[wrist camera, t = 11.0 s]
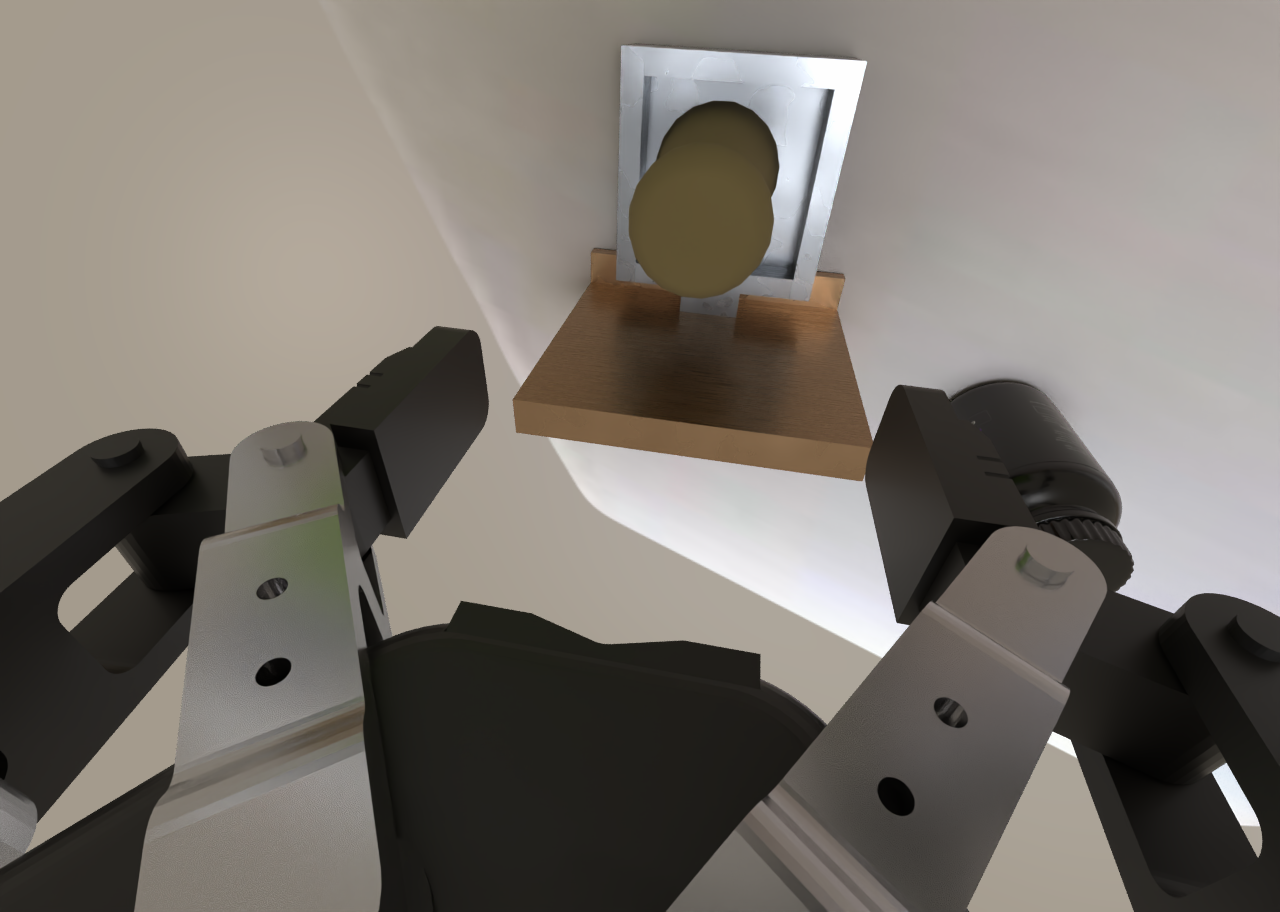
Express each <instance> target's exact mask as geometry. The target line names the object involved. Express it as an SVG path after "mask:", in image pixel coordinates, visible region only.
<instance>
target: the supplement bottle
mask: <svg viewBox="0 0 1280 912" xmlns="http://www.w3.org/2000/svg"><path fill="white" fill-rule="evenodd" d="M950 404H951V406H952V408H953V410H954V412H955V414H956V416H957V418H958V419H960V420H967V421H970V422H971V423H972V424H973V425H974V426H975V427H977V428H978V429H979V430H980V431H981V432H982V433H984V434H985V435H986V436H987V437H988V438H989V439H990V440H991V442H992V443H993V445H994V447H995V449H996V451H997V453H998V454H999V456H1000V458H1001V460H1000V462H1001V463H1003V464H1004V465H1005V467H1006V469H1007V471H1008V473H1009V475H1010V476H1009V479H1012V480H1013V482H1014V484H1015V486H1016V487H1017V489H1018V491H1019V493H1020V495H1021V497H1022V498H1023V500H1024V502H1025V504H1026V506H1027V508H1028V509H1029V511H1030V513H1031V515H1032V517H1033V519H1034V520H1035V522H1036V524H1037V526H1038V528H1039V530H1040V531H1044V532H1046V533H1049V534H1052V535H1054V536H1056V537H1058V538H1061V539H1063V540H1064V541H1066V542H1068V543H1070V544H1071V545H1073V546H1074V547H1076V548H1077V549H1079V550H1080V551H1081V552H1083V553H1084V554H1085V555H1086V556H1088V557H1089V558H1090V559H1091V560H1092V561H1093V562H1094V563H1095V565H1096V566H1097V567H1098V568H1099V570H1100V571H1101V573H1102V574H1103V576H1104V578H1105V581H1106V584H1107V589H1109V590H1111V591H1113V592H1116V591H1118V590H1119V589H1120V587H1122V586H1123V585H1125V584H1126V581H1127V580H1128V579H1130V578H1131V573H1132V572H1133V571H1134V569H1133V565H1134V561H1133V559H1132V555H1131V553H1130V551H1129V550H1128V548H1127V547H1126V545H1125V544H1124V543H1123V540H1122V536H1121V534H1120V532H1119V531H1118V530H1117V527H1118V525H1119V522H1120V519H1121V514H1122V502H1121V498H1120V495H1119V492H1118V491H1117V489H1116V487H1115V486H1114V484H1113V482H1112V481H1111V480H1110V478H1109V477H1108V476H1107V474H1106V473H1105V471H1104V470H1103V469H1102V467H1101V466H1100V465H1099V463H1098V462H1097V461H1096V459H1095V458H1094V457H1093V455H1092V454H1091V453H1090V451H1089V450H1088V449H1087V447H1086V446H1085V445H1084V443H1083V442H1082V441H1081V439H1080V438H1079V437H1078V435H1077V434H1076V433H1075V431H1074V430H1073V429H1072V427H1071V426H1070V424H1069V423H1068V422H1067V420H1066V419H1065V418H1064V416H1063V415H1062V414H1061V412H1060V411H1059V410H1058V409H1057V407H1056V406H1055V405H1054V404H1053V402H1052V401H1051V400H1050V399H1049V398H1048V397H1047V396H1046V395H1045V394H1044V393H1042V392H1041V391H1039V390H1037V389H1035V388H1033V387H1031V386H1028V385H1024V384H1020V383H1011V382H1001V383H992V384H987V385H983V386H979V387H977V388H974V389H972V390H969V391H967V392H965V393H963V394H962V395H960V396H958V397H957V398H955V399H954V400H953V401H951V402H950Z"/></svg>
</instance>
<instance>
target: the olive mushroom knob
mask: <svg viewBox="0 0 1280 912" xmlns="http://www.w3.org/2000/svg"><path fill="white" fill-rule="evenodd" d="M779 167H780V166H779V158H778V150H777V144H776V142H775V140H774V138H773V136H772V133H771V131H770V129H769V127H768V125H767V124H766V123H765V122H764V121H763V120H762V119H761V118H760V117H759V116H758V115H757V114H756V113H755V112H754V111H753V110H751V109H749V108H747V107H745V106H743V105H740V104H738V103H736V102H732V101H715V100H713V101H710V102H707V103H703V104H700V105H697V106H694V107H692V108H691V109H689V110H688V111H687V112H685V113H684V114H683V115H681V116H680V117H679V118H677V119H676V120H675V122H674V123H673V124H672V126H671V127H670V129H669V130H668V131H667V133H666V134H665V136H664V137H663V140H662V143H661V146H660V149H659V151H658V154H657V157H656V161H655V162H654V163H653V164H652V165H651V166H650V168H649V169H648V170H647V172H646V173H645V174H644V176H643V177H642V179H641V180H640V181H639V183H638V184H637V186H636V189H635V192H634V195H633V198H632V201H631V204H630V207H629V231H628V232H629V237H630V240H631V244H632V248H633V251H634V255H635V258H636V259H637V261H638V262H639V264H640V265H641V267H642V269H643V270H644V272H645V273H646V275H647V276H648V277H649V278H651V279H652V280H653V281H654V282H655V283H656V284H658V285H659V286H660V287H661V288H662V289H664V290H667V291H669V292H672V293H674V294H676V295H679V296H681V297H689V298H699V299H703V298H708V297H713V296H718V295H723V294H724V293H726V292H728V291H730V290H732V289H733V288H735V287H737V286H739V285H741V284H742V283H743V282H744V281H745V280H746V279H747V278H748V277H749V276H750V275H751V274H752V272H753V271H754V270H755V269H756V268H757V267H758V266H759V265H760V263H761V261H762V259H763V257H764V255H765V253H766V251H767V249H768V248H769V246H770V242H771V237H772V231H773V225H774V214H773V207H772V200H771V197H772V195H773V193H774V191H775V189H776V185H777V179H778V173H779Z"/></svg>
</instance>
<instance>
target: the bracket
mask: <svg viewBox="0 0 1280 912" xmlns="http://www.w3.org/2000/svg"><path fill="white" fill-rule="evenodd" d="M866 64H867V61H864V60H861V59H858V58H852V57H836V56H821V55H805V54H790V53H774V52H759V51H743V50H728V49H712V48H697V47H682V46H666V45H651V44H628V45H621V79H620V124H619V169H618V214H617V251H616V250H606V249H597V248H594V249H593V251H592V252H591V283H590V285H589V286H588V288H587V289H586V291H585V292H584V294H583V295H582V297H581V298H580V300H579V301H578V303H577V304H576V306H575V307H574V309H573V310H572V312H571V313H570V315H569V316H568V318H567V319H566V321H565V322H564V324H563V325H562V327H561V328H560V330H559V331H558V333H557V334H556V336H555V337H554V339H553V340H552V342H551V343H550V345H549V346H548V348H547V349H546V351H545V352H544V354H543V355H542V357H541V358H540V360H539V361H538V363H537V364H536V365H535V367H534V368H533V370H532V371H531V373H530V374H529V376H528V377H527V379H526V380H525V382H524V383H523V385H522V386H521V388H520V389H519V391H518V392H517V394H516V396H515V397H514V398H513V406H514V416H515V425H516V432H517V433H525V434H531V435H539V436H546V437H552V438H559V439H566V440H573V441H581V442H588V443H595V444H602V445H609V446H616V447H623V448H630V449H637V450H644V451H651V452H658V453H665V454H672V455H679V456H687V457H694V458H701V459H708V460H715V461H722V462H729V463H736V464H743V465H750V466H757V467H764V468H771V469H778V470H785V471H793V472H800V473H807V474H814V475H821V476H828V477H835V478H842V479H849V480H856V481H863V478H864V475H865V472H866V464H867V459H868V455H869V452H870V449H871V446H872V444H873V440H872V437H871V433H870V429H869V426H868V422H867V418H866V415H865V411H864V407H863V404H862V400H861V396H860V393H859V389H858V385H857V381H856V378H855V374H854V370H853V367H852V363H851V359H850V356H849V352H848V348H847V345H846V341H845V337H844V334H843V330H842V326H841V323H840V319H839V315H838V311H837V307H838V304H839V300H840V296H841V293H842V289H843V286H844V282H845V277H844V274H837V273H827V272H817V266H818V262H819V258H820V254H821V250H822V246H823V242H824V238H825V233H826V229H827V225H828V221H829V217H830V213H831V209H832V204H833V200H834V196H835V192H836V188H837V184H838V180H839V175H840V171H841V167H842V163H843V159H844V155H845V151H846V146H847V142H848V138H849V134H850V130H851V126H852V122H853V117H854V113H855V109H856V105H857V101H858V97H859V93H860V89H861V84H862V80H863V76H864V72H865V68H866ZM713 100H715V101H732V102H736V103H738V104H740V105H743V106H745V107H747V108H749V109H751V110H753V111H754V112H755V113H756V114H757V115H758V116H759V117H760V118H761V119H762V120H763V121H764V122H765V123H766V124H767V125H768V127H769V129H770V131H771V133H772V136H773V138H774V140H775V142H776V144H777V150H778V158H779V166H780V167H779V173H778V179H777V185H776V189H775V191H774V193H773V195H772V197H771V200H772V207H773V214H774V225H773V231H772V237H771V242H770V246H769V248H768V249H767V251H766V253H765V255H764V257H763V259H762V261H761V263H760V265H759V266H758V267H757V268H756V269H755V270H754V271H753V272H752V274H751V275H750V276H749V277H748V278H747V279H746V280H745V281H744V282H743V283H742V284H741V285H739V286H737V287H735V288H733V289H732V290H730V291H728V292H726V293H724V294H723V295H718V296H713V297H708V298H703V299H699V298H689V297H681V296H679V295H676V294H674V293H672V292H669V291H667V290H664V289H662V288H661V287H660V286H659V285H658V284H656V283H655V282H654V281H653V280H652V279H651V278H649V277H648V276H647V275H646V273H645V272H644V270H643V269H642V267H641V265H640V264H639V262H638V261H637V259H636V258H635V255H634V251H633V248H632V244H631V240H630V237H629V232H628V231H629V207H630V204H631V201H632V198H633V195H634V192H635V189H636V186H637V184H638V183H639V181H640V180H641V179H642V177H643V176H644V174H645V173H646V172H647V170H648V169H649V168H650V166H651V165H652V164H653V163H654V162H655V161H656V157H657V154H658V151H659V149H660V146H661V143H662V140H663V137H664V136H665V134H666V133H667V131H668V130H669V129H670V127H671V126H672V124H673V123H674V122H675V120H676V119H677V118H679V117H680V116H681V115H683V114H684V113H685V112H687V111H688V110H689V109H691V108H692V107H694V106H697V105H700V104H703V103H707V102H710V101H713Z"/></svg>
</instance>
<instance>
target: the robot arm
mask: <svg viewBox="0 0 1280 912" xmlns="http://www.w3.org/2000/svg"><path fill="white" fill-rule="evenodd" d="M488 405H489V400H488V392H487V384H486V377H485V370H484V364H483V356H482V349H481V343H480V339H479V336H478V334H477V333H476V332H475V331H473V330H464V329H457V328H448V327H441V326H436V327H434V328H433V329H432V330H431V331H429V332H428V333H427V334H426V335H425V336H424V337H423V338H422V339H421V340H420V341H419V342H418V343H417V344H415V345H414V346H413V347H408V348H406V349H404V350H402V351H400V352H397V353H395V354H393V355H391V356H389V357H387V358H385V359H384V360H383V361H382V362H381V363H380V364H378V365H377V366H376V367H375V368H374V369H373V370H372V371H371V372H370V375H366V376H365V377H364V378H363V379H361V380H360V381H359V382H358V383H357V387H352V388H351V389H350V390H349V391H348V392H347V393H346V394H344V395H343V396H342V397H341V398H340V399H339V400H338V401H337V402H335V403H334V404H333V405H332V406H331V407H330V408H329V409H328V410H326V411H325V412H324V413H323V414H322V415H321V416H320V417H319V418H318V419H316V420H315V421H314V422H307V421H296V422H287V423H281V424H277V425H273V426H270V427H267V428H264V429H262V430H259V431H257V432H255V433H253V434H251V435H250V436H248V437H247V438H245V439H244V440H242V441H241V442H240V443H239V444H238V445H237V446H236V447H235V448H234V450H233V451H232V453H231V454H225V455H224V454H223V455H208V456H192V457H187V455H186V453H185V451H184V449H183V448H182V446H181V444H180V442H179V441H178V439H177V437H176V436H175V435H174V434H172V433H171V432H168V431H166V430H161V429H137V430H130V431H125V432H121V433H117V434H113V435H110V436H107V437H104V438H102V439H99V440H96V441H94V442H92V443H90V444H88V445H86V446H84V447H82V448H81V449H79V450H77V451H76V452H74V453H73V454H71V455H70V456H68V457H67V458H65V459H64V460H62V461H61V462H59V463H58V464H56V465H55V466H53V467H52V468H50V469H49V470H47V471H46V472H44V473H43V474H41V475H40V476H38V477H37V478H36V479H34V480H33V481H31V482H29V483H28V484H26V485H25V486H23V487H22V488H20V489H19V490H18V491H16V492H14V493H13V494H12V495H10V496H9V497H7V498H6V499H4V500H3V501H1V502H0V912H969V911H968V909H967V906H968V904H969V902H970V900H971V898H972V896H973V894H974V892H975V890H976V888H977V886H978V883H979V882H980V880H981V878H982V876H983V873H984V871H985V869H986V867H987V865H988V863H989V861H990V859H991V857H992V855H993V853H994V851H995V849H996V847H997V845H998V842H999V840H1000V838H1001V836H1002V834H1003V832H1004V830H1005V828H1006V826H1007V824H1008V822H1009V820H1010V817H1011V816H1012V814H1013V812H1014V809H1015V807H1016V805H1017V803H1018V801H1019V799H1020V797H1021V795H1022V793H1023V791H1024V789H1025V787H1026V785H1027V783H1028V781H1029V779H1030V776H1031V774H1032V772H1033V770H1034V768H1035V766H1036V764H1037V762H1038V760H1039V758H1040V756H1041V754H1042V752H1043V750H1044V748H1045V745H1046V743H1047V741H1048V739H1049V737H1050V735H1051V733H1052V731H1053V732H1055V733H1057V734H1060V735H1062V736H1064V737H1066V738H1068V739H1071V742H1072V745H1073V747H1074V750H1075V753H1076V756H1077V758H1078V761H1079V763H1080V766H1081V769H1082V772H1083V775H1084V777H1085V780H1086V783H1087V785H1088V788H1089V791H1090V793H1091V796H1092V799H1093V802H1094V804H1095V807H1096V810H1097V812H1098V815H1099V818H1100V821H1101V823H1102V826H1103V829H1104V832H1105V834H1106V837H1107V840H1108V842H1109V845H1110V848H1111V851H1112V853H1113V856H1114V859H1115V861H1116V864H1117V867H1118V869H1119V872H1120V875H1121V878H1122V880H1123V883H1124V886H1125V889H1126V891H1127V894H1128V897H1129V899H1130V902H1131V905H1132V908H1133V910H1134V912H1280V617H1278V616H1277V615H1275V614H1273V613H1271V612H1269V611H1267V610H1265V609H1263V608H1261V607H1259V606H1257V605H1254V604H1252V603H1249V602H1247V601H1244V600H1241V599H1238V598H1235V597H1231V596H1227V595H1222V594H1214V593H1204V594H1198V595H1195V596H1193V597H1191V598H1190V599H1189V600H1188V601H1187V602H1186V603H1185V604H1183V605H1182V606H1181V607H1180V608H1179V609H1178V610H1177V611H1176V612H1175V613H1174V614H1173V613H1171V612H1168V611H1165V610H1163V609H1160V608H1157V607H1154V606H1152V605H1149V604H1146V603H1143V602H1141V601H1138V600H1135V599H1132V598H1130V597H1127V596H1124V595H1121V594H1119V593H1116V592H1113V591H1111V590H1109V589H1107V584H1106V581H1105V578H1104V576H1103V574H1102V573H1101V571H1100V570H1099V568H1098V567H1097V566H1096V565H1095V563H1094V562H1093V561H1092V560H1091V559H1090V558H1089V557H1088V556H1086V555H1085V554H1084V553H1083V552H1081V551H1080V550H1079V549H1077V548H1076V547H1074V546H1073V545H1071V544H1070V543H1068V542H1066V541H1064V540H1063V539H1061V538H1058V537H1056V536H1054V535H1052V534H1049V533H1046V532H1044V531H1040V530H1039V528H1038V526H1037V524H1036V522H1035V520H1034V519H1033V517H1032V515H1031V513H1030V511H1029V509H1028V508H1027V506H1026V504H1025V502H1024V500H1023V498H1022V497H1021V495H1020V493H1019V491H1018V489H1017V487H1016V486H1015V484H1014V482H1013V480H1012V479H1009V476H1010V475H1009V473H1008V471H1007V469H1006V467H1005V465H1004V464H1003V463H1001V462H1000V460H1001V458H1000V456H999V454H998V453H997V451H996V449H995V447H994V445H993V443H992V442H991V440H990V439H989V438H988V437H987V436H986V435H985V434H984V433H982V432H981V431H980V430H979V429H978V428H977V427H975V426H974V425H973V424H972V423H971V422H970V421H967V420H960V419H958V418H957V416H956V414H955V412H954V410H953V408H952V406H951V404H950V402H949V399H948V397H947V395H946V394H945V392H944V391H943V390H938V389H930V388H922V387H914V386H906V385H898V386H897V387H896V388H895V389H894V390H893V392H892V394H891V396H890V399H889V401H888V404H887V407H886V409H885V412H884V415H883V417H882V420H881V423H880V425H879V428H878V430H877V433H876V436H875V438H874V441H873V444H872V446H871V449H870V452H869V455H868V459H867V464H866V472H865V482H866V488H867V492H868V497H869V501H870V506H871V510H872V515H873V519H874V524H875V528H876V533H877V537H878V542H879V546H880V550H881V555H882V559H883V564H884V568H885V573H886V577H887V582H888V586H889V591H890V595H891V600H892V604H893V609H894V613H895V618H896V622H897V623H900V624H906V625H910V626H909V627H908V628H907V629H906V630H905V632H904V633H903V634H902V635H901V636H900V638H899V639H898V640H897V641H896V643H895V644H894V645H893V646H892V647H891V649H890V650H889V651H888V652H887V653H886V655H885V656H884V657H883V658H882V659H881V661H880V662H879V663H878V664H877V666H876V667H875V668H874V669H873V670H872V672H871V673H870V674H869V675H868V676H867V678H866V679H865V680H864V681H863V682H862V684H861V685H860V686H859V687H858V689H857V690H856V691H855V692H854V693H853V695H852V696H851V697H850V698H849V699H848V701H847V702H846V703H845V704H844V705H843V707H842V708H841V709H840V710H839V711H838V713H837V714H836V715H835V716H834V718H833V719H832V720H831V721H830V722H829V724H828V725H826V723H824V721H823V720H821V719H820V718H819V717H818V716H817V715H816V714H815V713H814V712H812V711H811V710H810V709H809V708H808V707H807V706H805V705H804V704H802V703H801V702H800V701H798V700H797V699H796V698H794V697H793V696H791V695H790V694H788V693H786V692H785V691H783V690H781V689H779V688H778V687H776V686H774V685H772V684H770V683H768V682H766V681H764V680H761V679H760V654H756V653H750V652H745V651H739V650H734V649H728V648H722V647H716V646H711V645H706V644H700V643H695V642H689V641H666V642H646V643H627V644H601V643H597V642H594V641H592V640H590V639H588V638H585V637H583V636H581V635H579V634H576V633H574V632H572V631H570V630H567V629H565V628H563V627H561V626H559V625H556V624H554V623H552V622H550V621H547V620H545V619H543V618H541V617H538V616H536V615H534V614H532V613H526V612H520V611H514V610H509V609H503V608H498V607H493V606H487V605H481V604H476V603H470V602H464V601H461V603H460V604H459V606H458V608H457V610H456V612H455V614H454V616H453V618H452V620H451V622H450V623H448V624H438V625H432V626H426V627H422V628H418V629H414V630H410V631H406V632H404V633H401V634H398V635H395V636H392V632H391V628H390V623H389V618H388V613H387V608H386V604H385V598H384V593H383V588H382V583H381V579H380V573H379V569H378V563H377V558H376V555H375V552H374V549H373V546H372V544H373V543H374V541H375V540H376V539H377V537H378V536H379V535H380V534H382V535H388V536H394V537H400V538H406V539H407V537H408V536H409V534H410V533H411V531H412V530H413V529H414V527H415V526H416V524H417V523H418V521H419V520H420V518H421V517H422V515H423V514H424V512H425V511H426V510H427V508H428V507H429V505H430V504H431V503H432V501H433V500H434V498H435V496H436V495H437V494H438V492H439V491H440V489H441V488H442V487H443V485H444V484H445V482H446V481H447V479H448V478H449V476H450V475H451V473H452V472H453V471H454V469H455V468H456V466H457V465H458V463H459V462H460V461H461V459H462V457H463V456H464V455H465V453H466V452H467V450H468V449H469V448H470V446H471V444H472V443H473V442H474V440H475V439H476V437H477V436H478V434H479V433H480V431H481V430H482V428H483V427H484V425H485V422H486V419H487V415H488V407H489V406H488ZM114 546H115V547H116V548H117V549H118V550H119V552H120V553H121V555H122V556H123V557H124V558H125V560H126V561H127V562H128V563H129V565H130V566H131V568H132V569H133V570H134V572H133V573H132V574H131V575H130V576H129V577H128V578H126V580H124V581H123V582H122V583H121V584H120V585H119V586H118V587H117V588H116V589H115V590H114V591H113V592H112V593H110V595H108V596H107V597H106V598H105V599H104V600H103V601H102V602H101V603H100V604H99V605H98V606H97V607H96V608H95V609H93V610H92V611H91V612H90V613H89V614H88V615H87V616H86V617H85V618H84V619H83V620H82V621H81V622H80V623H79V624H78V625H77V626H76V627H74V628H73V629H72V630H71V631H70V632H68V631H67V630H66V629H65V628H64V627H63V625H62V624H61V623H60V621H59V619H58V614H57V612H58V604H59V601H60V599H61V597H62V595H63V593H64V592H65V591H66V589H67V588H68V587H69V586H70V585H71V584H72V583H73V582H74V581H75V580H77V579H78V578H79V577H80V576H81V575H82V574H83V573H85V572H86V571H87V570H88V569H89V568H90V567H91V566H93V565H94V564H95V563H96V562H97V561H98V560H99V559H101V558H102V557H103V556H104V555H105V554H106V553H108V552H109V551H110V550H111V549H112V548H113V547H114ZM187 646H188V654H187V662H186V671H185V679H184V688H183V697H182V706H181V714H180V723H179V732H178V742H177V749H176V758H175V764H173V765H171V766H170V767H168V768H167V769H165V770H163V771H162V772H160V773H159V774H157V775H155V776H153V777H152V778H150V779H148V780H147V781H145V782H143V783H142V784H140V785H138V786H137V787H135V788H133V789H132V790H130V791H128V792H127V793H125V794H123V795H122V796H120V797H119V798H117V799H115V800H113V801H112V802H110V803H108V804H107V805H105V806H103V807H102V808H100V809H98V810H97V811H95V812H93V813H92V814H90V815H88V816H87V817H85V818H84V819H82V820H80V821H78V822H77V823H75V824H73V825H72V826H70V827H68V828H67V829H65V830H64V831H62V832H60V833H59V834H57V835H55V836H53V837H52V838H50V839H49V840H47V841H45V842H44V843H42V844H40V845H39V846H37V847H35V848H34V849H32V850H30V851H29V852H27V853H25V851H26V849H27V848H28V846H29V844H30V842H31V840H32V837H33V835H34V832H35V829H36V824H37V823H38V822H39V820H40V819H41V818H42V817H43V816H44V815H45V813H46V812H47V811H48V810H49V809H50V807H51V806H52V805H53V804H54V803H55V802H56V800H57V799H58V798H59V797H60V796H61V794H62V793H63V792H64V791H65V790H66V789H67V787H68V786H69V785H70V784H71V783H72V782H73V780H74V779H75V778H76V777H77V776H78V775H79V773H80V772H81V771H82V770H83V769H84V767H85V766H86V765H87V764H88V763H89V762H90V760H91V759H92V758H93V757H94V756H95V754H96V753H97V752H98V751H99V750H100V749H101V747H102V746H103V745H104V744H105V743H106V741H107V740H108V739H109V738H110V737H111V736H112V734H113V733H114V732H115V731H116V730H117V729H118V727H119V726H120V725H121V724H122V723H123V722H124V720H125V719H126V718H127V717H128V715H129V714H130V713H131V712H132V711H133V710H134V709H135V707H136V706H137V705H138V704H139V703H140V701H141V700H142V699H143V698H144V697H145V696H146V694H147V693H148V692H149V691H150V690H151V689H152V687H153V686H154V685H155V684H156V683H157V681H158V680H159V679H160V678H161V677H162V676H163V674H164V673H165V672H166V671H167V670H168V669H169V667H170V666H171V665H172V664H173V663H174V661H175V660H176V659H177V658H178V657H179V656H180V654H181V653H182V652H183V651H184V650H185V648H186V647H187ZM1225 763H1227V764H1228V766H1229V768H1230V770H1231V771H1232V773H1233V775H1234V777H1235V778H1236V780H1237V782H1238V784H1239V785H1240V787H1241V789H1242V791H1243V792H1244V794H1245V796H1246V798H1247V799H1248V801H1249V803H1250V805H1251V807H1252V808H1253V810H1254V812H1255V814H1256V816H1257V818H1258V821H1259V824H1260V827H1261V831H1262V840H1263V841H1262V849H1261V854H1260V856H1259V858H1258V857H1257V856H1256V854H1255V852H1254V850H1253V848H1252V846H1251V845H1250V843H1249V841H1248V839H1247V837H1246V835H1245V833H1244V831H1243V830H1242V828H1241V826H1240V824H1239V822H1238V820H1237V819H1236V817H1235V815H1234V813H1233V811H1232V809H1231V807H1230V806H1229V804H1228V802H1227V800H1226V798H1225V796H1224V794H1223V793H1222V791H1221V789H1220V787H1219V785H1218V783H1217V782H1216V780H1215V778H1214V776H1213V774H1212V772H1213V771H1214V770H1216V769H1217V768H1219V767H1220V766H1222V765H1223V764H1225ZM24 853H25V854H24Z"/></svg>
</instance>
